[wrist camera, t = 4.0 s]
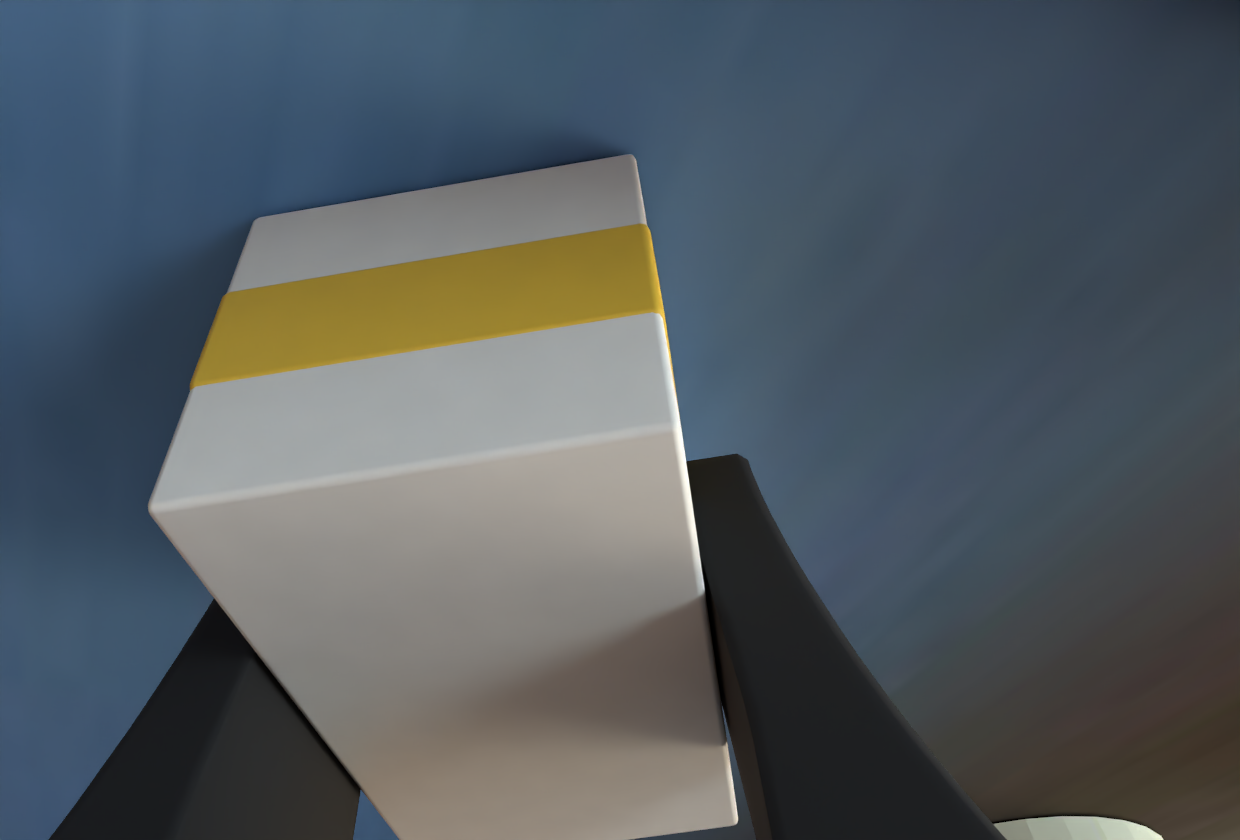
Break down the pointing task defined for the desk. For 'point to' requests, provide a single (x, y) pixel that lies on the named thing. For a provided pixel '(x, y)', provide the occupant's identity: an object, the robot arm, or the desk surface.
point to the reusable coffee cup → (1075, 829)
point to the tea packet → (464, 506)
